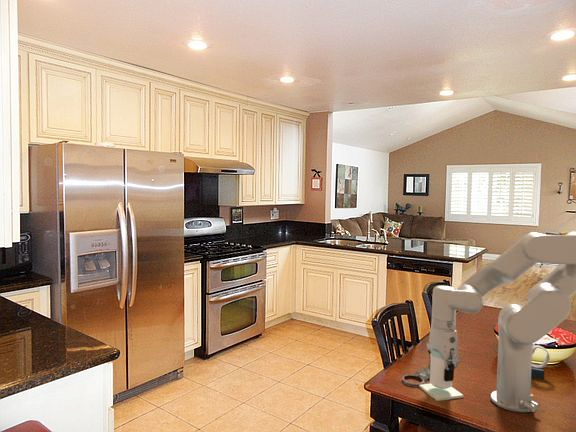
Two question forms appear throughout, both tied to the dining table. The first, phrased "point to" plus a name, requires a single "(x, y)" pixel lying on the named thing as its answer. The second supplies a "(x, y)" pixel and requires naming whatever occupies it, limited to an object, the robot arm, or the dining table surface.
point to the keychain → (418, 377)
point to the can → (438, 371)
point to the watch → (536, 369)
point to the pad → (440, 392)
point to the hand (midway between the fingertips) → (441, 375)
